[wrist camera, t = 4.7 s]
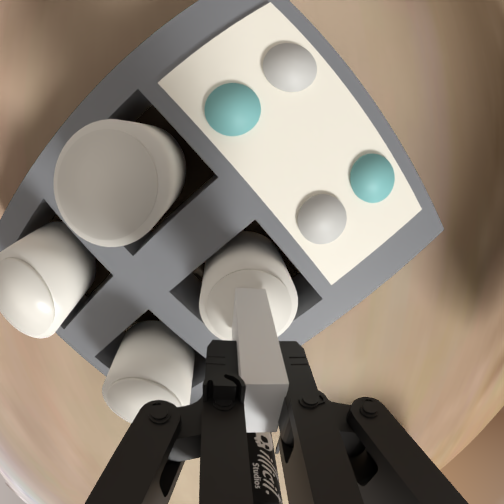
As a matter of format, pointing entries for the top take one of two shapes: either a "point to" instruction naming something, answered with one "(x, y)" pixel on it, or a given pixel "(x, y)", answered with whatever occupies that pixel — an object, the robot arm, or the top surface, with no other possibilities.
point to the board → (244, 175)
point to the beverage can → (263, 469)
